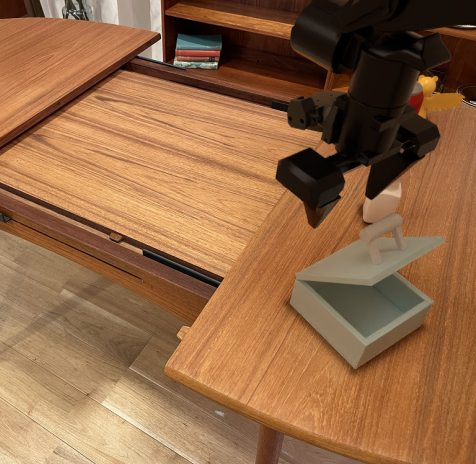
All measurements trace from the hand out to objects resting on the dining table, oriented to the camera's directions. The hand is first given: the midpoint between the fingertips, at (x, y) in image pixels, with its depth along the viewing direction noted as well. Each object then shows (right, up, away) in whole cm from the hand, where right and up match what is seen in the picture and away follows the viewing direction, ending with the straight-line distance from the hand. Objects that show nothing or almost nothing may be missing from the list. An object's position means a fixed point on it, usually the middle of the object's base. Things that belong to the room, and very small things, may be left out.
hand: (341, 211), depth 60 cm
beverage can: (+19, +13, +32) cm, 39 cm away
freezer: (+3, -13, +6) cm, 15 cm away
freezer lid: (+3, -6, 0) cm, 7 cm away
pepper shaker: (+12, 0, +19) cm, 22 cm away
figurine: (+27, +21, +39) cm, 52 cm away
